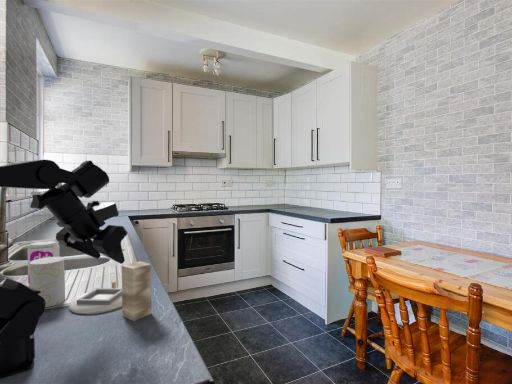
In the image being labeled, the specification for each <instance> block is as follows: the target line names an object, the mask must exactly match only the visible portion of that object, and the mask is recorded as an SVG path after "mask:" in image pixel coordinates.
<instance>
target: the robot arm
mask: <svg viewBox="0 0 512 384" xmlns="http://www.w3.org/2000/svg"><path fill="white" fill-rule="evenodd" d="M109 183H110V177H109V175H108V174H107V172H106V171H104V170H103V169H102V168H101V167H100V166H98V165H96V164H94V162H93V161H92V160H85V161H83V162H81V164H79V166H77V167H76V168H74V169H73V170H72V171H69V170H66V169H64V168H61V167H60V166H59V165H58V164H57V163H56V162H55V161H53V160H51V159H36V160H26V161H22V162H15V163H10V164H4V165H0V188H10V189H11V188H13V189H25V190H26V189H27V190H28V189H30V190H46V191H45V192H43V193H42V194H32V195H31V196H32V200H31V202H30V206H29V207H30V209H36V210H37V209H38V210H43V209H44V208H45V207H46V208H47V209H48V211H49V212H50V214H52V216H54V218H56V219H57V222H56V223H55V224H56V225H57V226H58V227H59V228H60V227H61V228H62V229H60V230H59V231H57V232H56V234H55V241H57V243H58V244H60V245H61V246H65V247H66V248H68V249H72V250H74V251H76V252H79V253H81V254H84V255H86V256H89V257H92V258H94V259H96V260H99V258H100V257H101V255H102V256H104V257H106V258H108V259H110V260H112V261H115V262H116V263H118V264H122V265H123V263H124V262H126V260H125V255H124V252H123V247H122V241H123V240H124V239H125V237H127V235H128V231H127V229H126V228H125V226H124V225H123V226H122V225H116V224H115V225H114V224H113V225H112V224H108V225H106V224H107V223H106V222H105V221H107V220H110V219H112V218H115V217H118V216H119V215H120V214H119V211H118V207H117V203H116V202H111V201H109V202H107V201H105V202H99V201H98V200H90V201H88V202H87V204H86V205H87V206H85V204H84V202H83V201H82V200H81V199H80V198H82V199H83V198H87V199H90V198H92V197H93V196H94V195H95V194H96V193H98V192H99V191H100V190H101V189H103V188H104V187H105V186H106V185H108V184H109ZM59 184H61V185H59ZM58 185H59V187H57V186H58ZM104 225H106V226H105V228H103V229H101V228H102V227H104ZM39 293H41V291H39V290H36V289H34V288H31V287H29V285H28V286H27V285H25V284H23V283H22V282H20V281H17V280H15V279H11V278H10V277H6V278H5V279H4V281H3V283H2V284H0V379H1V377H2V378H4V377H7V376H10V375H13V374H17V373H20V372H23V371H26V370H29V369H32V368H33V360H35V358H36V347H35V345H36V344H35V331H36V328H37V326H38V322H39V319H40V318H41V317H42V316H43V314H44V313H45V309H46V307H45V306H46V305H45V299H44V298H43V297H42V296H40V295H38V294H39Z"/></svg>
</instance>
